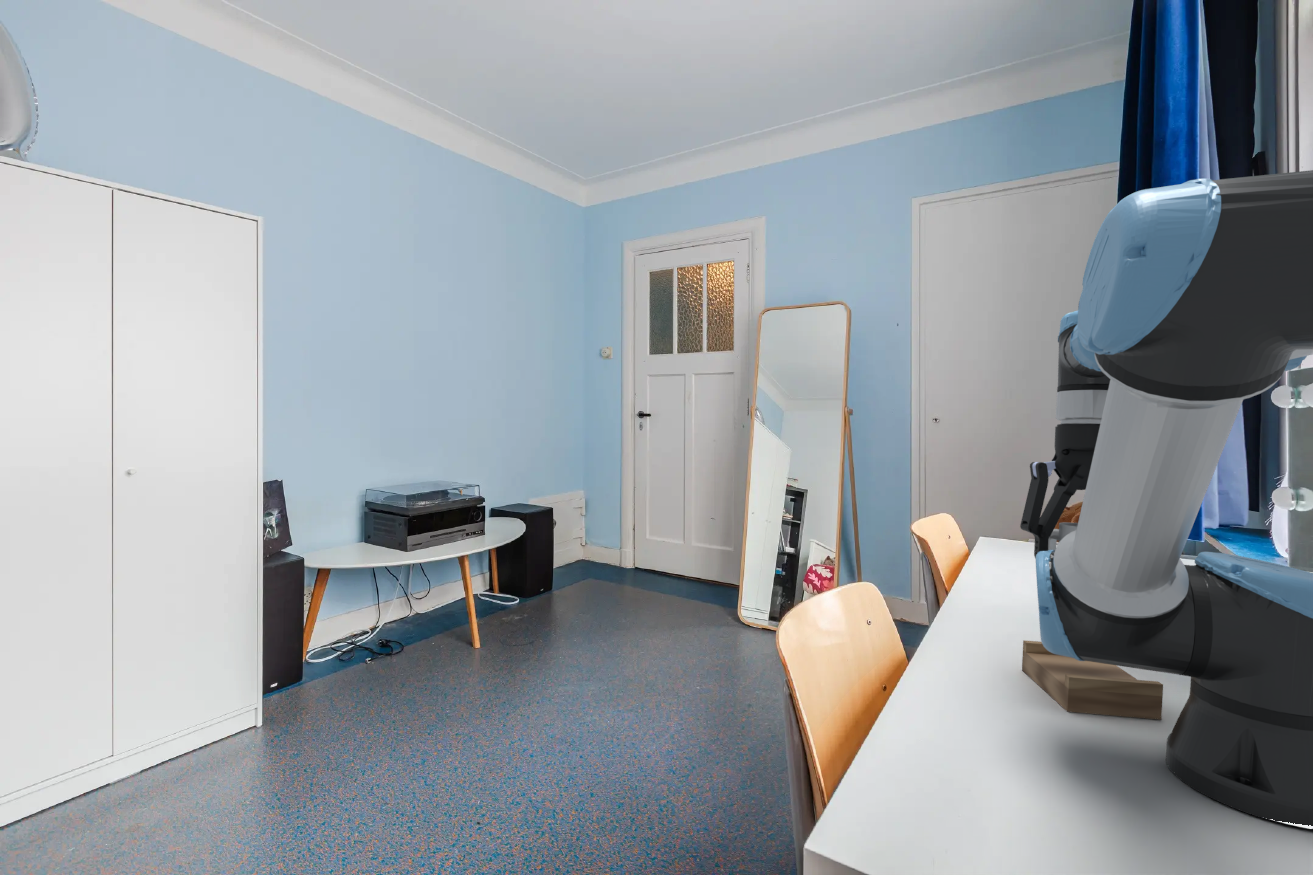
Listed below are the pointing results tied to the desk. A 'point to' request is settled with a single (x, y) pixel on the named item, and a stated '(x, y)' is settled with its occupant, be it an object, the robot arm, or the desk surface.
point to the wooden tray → (1091, 685)
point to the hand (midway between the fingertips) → (1080, 586)
